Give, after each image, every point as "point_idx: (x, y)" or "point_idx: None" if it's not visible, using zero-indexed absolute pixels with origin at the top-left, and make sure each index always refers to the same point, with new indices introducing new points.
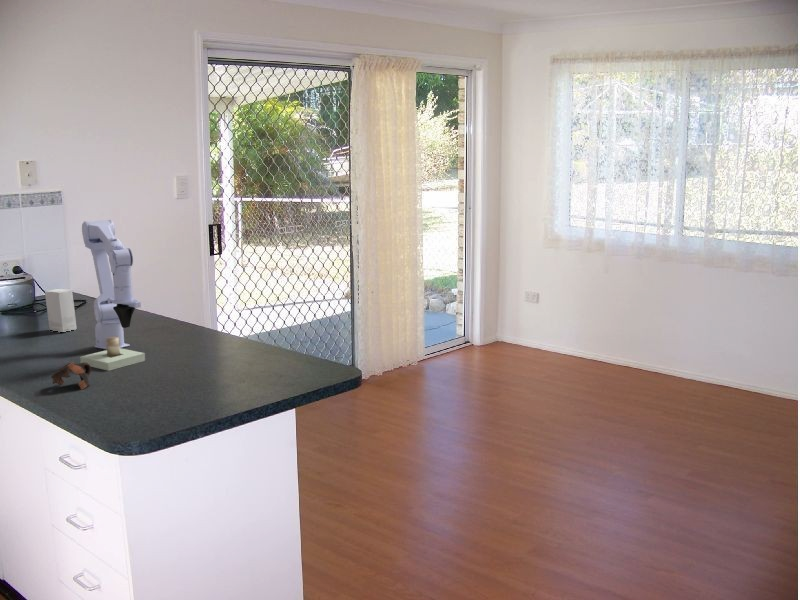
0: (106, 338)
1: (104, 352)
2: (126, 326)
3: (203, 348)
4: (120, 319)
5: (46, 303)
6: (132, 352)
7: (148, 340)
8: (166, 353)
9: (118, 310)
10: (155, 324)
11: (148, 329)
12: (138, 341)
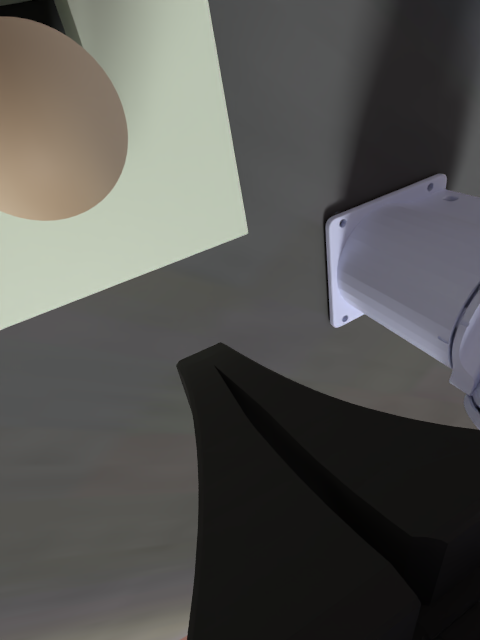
0: (54, 37)
1: (169, 85)
2: (185, 391)
3: (56, 594)
4: (262, 395)
5: None
6: (8, 285)
7: None
8: (65, 457)
9: (365, 512)
10: None
11: (450, 414)
12: (365, 367)
